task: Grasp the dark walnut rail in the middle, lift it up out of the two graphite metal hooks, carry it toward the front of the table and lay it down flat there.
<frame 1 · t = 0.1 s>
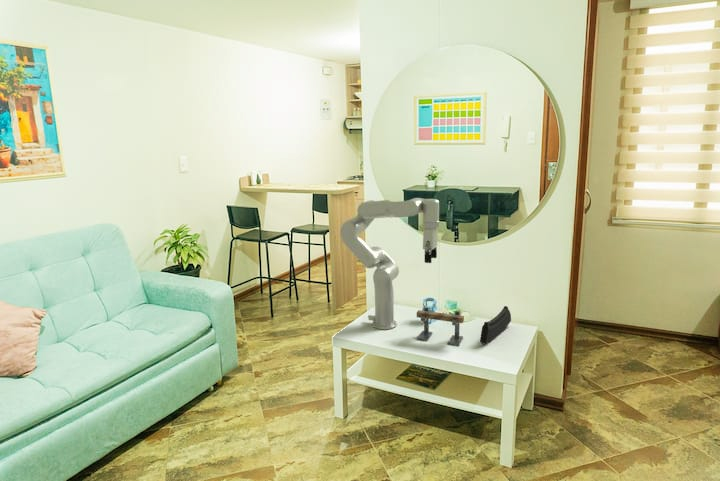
hand: (430, 260, 233), 37 cm above the table, tool pointing down, fingers open, 9 cm apart
magazine: (496, 335, 236), on the table
rail: (440, 316, 229), point 12 cm above the table, touching hook stand
chair: (429, 321, 255), on the table
hook stand: (439, 339, 231), on the table
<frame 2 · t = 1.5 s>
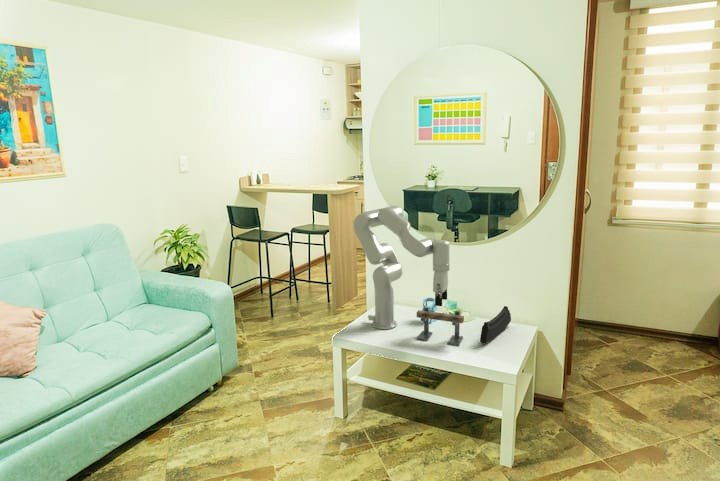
hand: (441, 302, 227), 19 cm above the table, tool pointing down, fingers open, 9 cm apart
nothing on the table moved.
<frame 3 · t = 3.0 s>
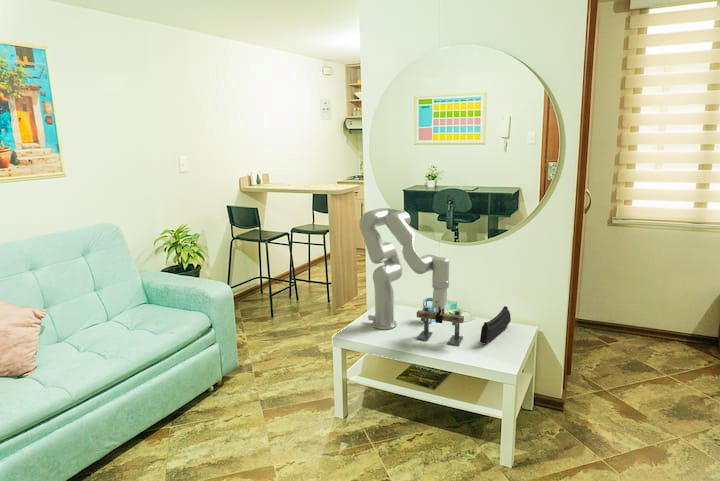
hand: (439, 321, 229), 10 cm above the table, tool pointing down, fingers closed on rail, 3 cm apart
rail: (440, 316, 229), point 12 cm above the table, touching gripper, hook stand
everything else where it was.
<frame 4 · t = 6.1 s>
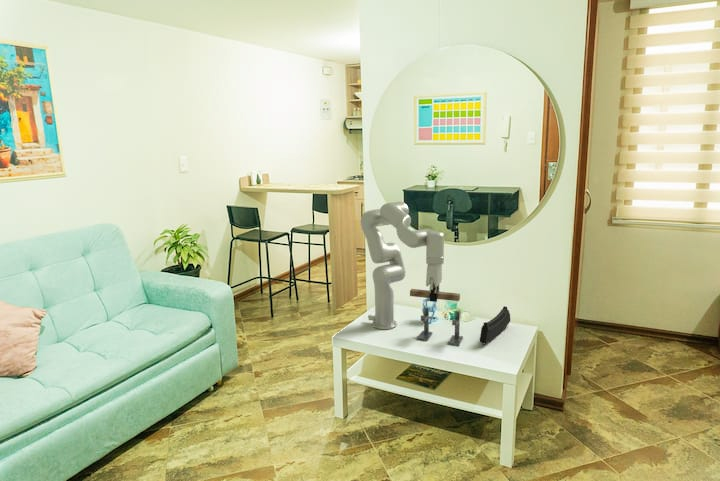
hand: (434, 299, 216), 24 cm above the table, tool pointing down, fingers closed on rail, 3 cm apart
rail: (434, 294, 216), point 26 cm above the table, touching gripper
everything else where it was.
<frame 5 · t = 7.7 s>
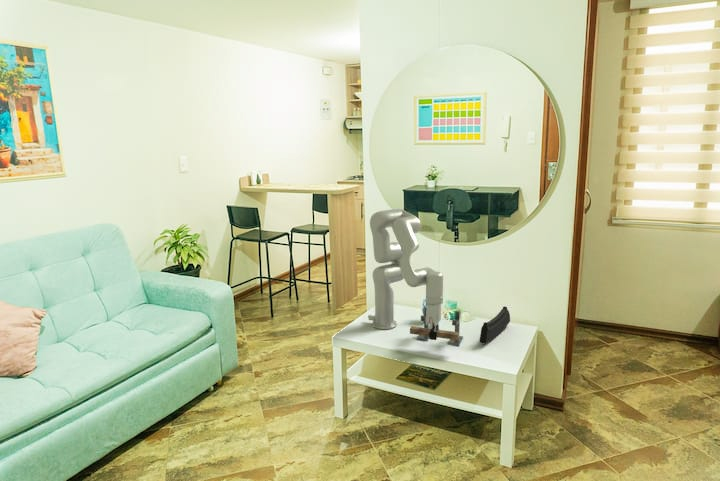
hand: (434, 337, 220), 6 cm above the table, tool pointing down, fingers closed on rail, 3 cm apart
rail: (434, 333, 220), point 8 cm above the table, touching gripper
everything else where it was.
when the fingers open (1 cm above the table, at t = 9.1 s): rail drops 2 cm, point 1 cm above the table.
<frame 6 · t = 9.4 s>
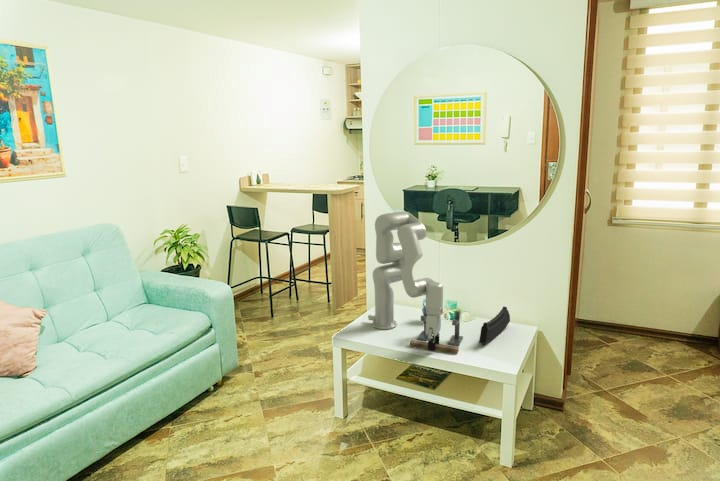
hand: (433, 346, 221), 1 cm above the table, tool pointing down, fingers open, 6 cm apart
rail: (433, 347, 221), point 1 cm above the table
everything else where it was.
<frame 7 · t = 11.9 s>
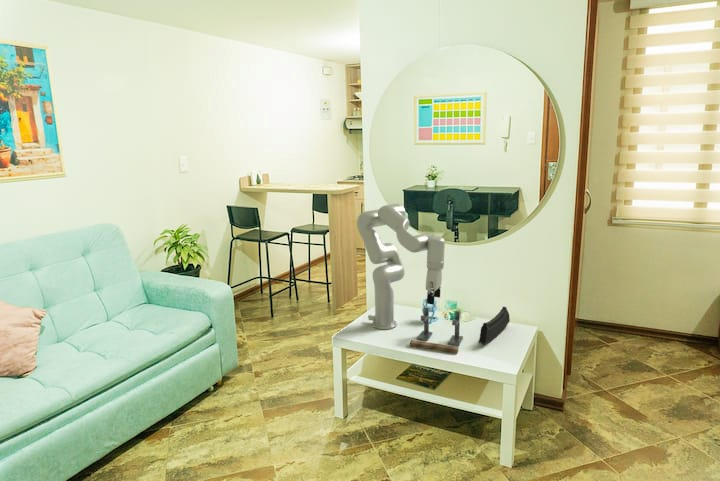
hand: (433, 300, 222), 22 cm above the table, tool pointing down, fingers open, 9 cm apart
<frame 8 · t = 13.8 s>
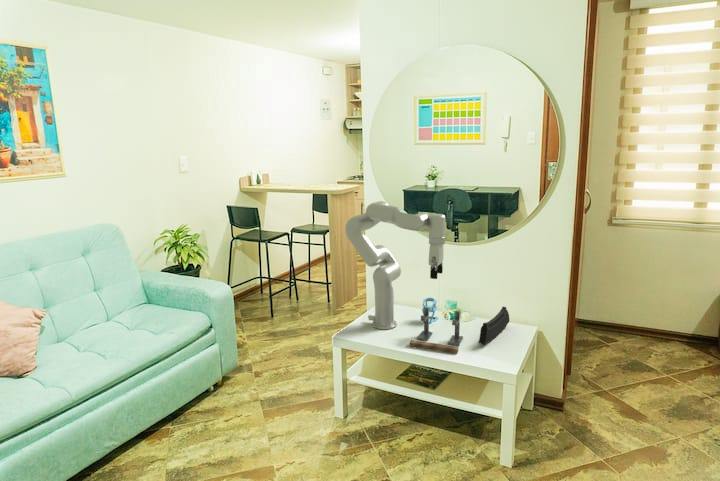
hand: (436, 275, 230), 30 cm above the table, tool pointing down, fingers open, 9 cm apart
at the end: rail inside the target area (0.2 cm from its centre), point 0.8 cm above the table; rail touching table; the gripper is holding nothing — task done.
